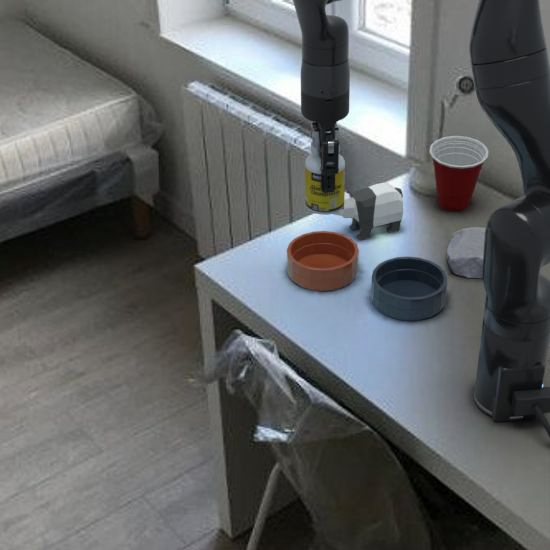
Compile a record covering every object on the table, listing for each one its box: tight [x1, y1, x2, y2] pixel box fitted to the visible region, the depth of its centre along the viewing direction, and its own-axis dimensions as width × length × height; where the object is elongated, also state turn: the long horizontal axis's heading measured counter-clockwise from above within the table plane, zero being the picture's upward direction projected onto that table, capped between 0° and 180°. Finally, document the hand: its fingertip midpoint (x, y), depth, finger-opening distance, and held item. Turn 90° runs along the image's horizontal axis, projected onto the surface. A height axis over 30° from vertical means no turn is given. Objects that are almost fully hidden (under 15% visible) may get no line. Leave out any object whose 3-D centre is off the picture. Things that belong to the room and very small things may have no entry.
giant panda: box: [332, 182, 404, 241], centre depth 176 cm, size 15×6×10 cm, turn 111°
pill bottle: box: [304, 140, 346, 216], centre depth 158 cm, size 6×6×12 cm
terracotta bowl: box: [286, 230, 360, 292], centre depth 167 cm, size 12×12×4 cm
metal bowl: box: [370, 256, 449, 321], centre depth 160 cm, size 12×12×4 cm
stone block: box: [446, 226, 486, 279], centre depth 169 cm, size 12×5×10 cm
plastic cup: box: [429, 135, 489, 213], centre depth 182 cm, size 11×11×12 cm
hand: (324, 180), depth 158 cm, fingers closed on pill bottle, 6 cm apart
